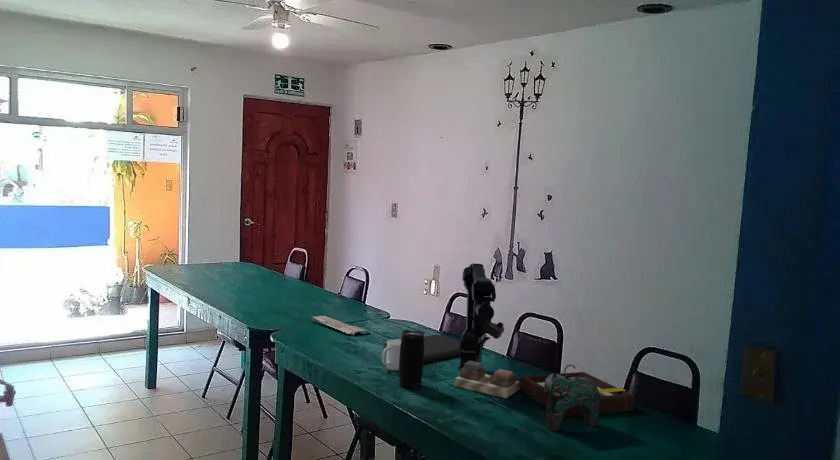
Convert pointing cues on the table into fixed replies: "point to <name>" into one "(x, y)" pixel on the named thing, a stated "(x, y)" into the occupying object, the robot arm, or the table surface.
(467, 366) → the charcoal key
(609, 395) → the brown wooden tray
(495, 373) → the terracotta key
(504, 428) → the table surface
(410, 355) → the portable speaker
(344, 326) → the beige notched slab
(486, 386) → the key console
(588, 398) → the ceramic cat
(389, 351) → the cup
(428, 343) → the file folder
